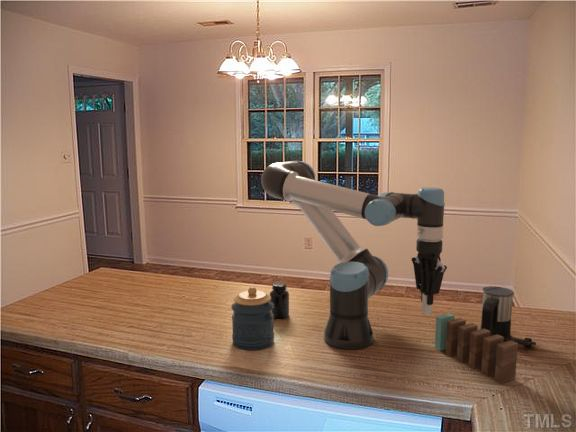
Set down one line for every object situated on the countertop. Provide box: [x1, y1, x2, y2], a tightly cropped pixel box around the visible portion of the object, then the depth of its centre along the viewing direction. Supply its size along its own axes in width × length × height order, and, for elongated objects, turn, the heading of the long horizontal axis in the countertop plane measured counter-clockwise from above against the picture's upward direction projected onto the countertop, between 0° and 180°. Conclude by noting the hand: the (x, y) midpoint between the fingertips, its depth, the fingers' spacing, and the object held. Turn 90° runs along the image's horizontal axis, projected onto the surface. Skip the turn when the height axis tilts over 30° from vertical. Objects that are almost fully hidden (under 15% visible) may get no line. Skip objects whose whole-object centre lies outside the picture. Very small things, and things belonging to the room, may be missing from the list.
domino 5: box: [481, 334, 505, 378], centre depth 126 cm, size 2×5×10 cm, turn 116°
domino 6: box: [494, 340, 519, 385], centre depth 123 cm, size 2×5×10 cm, turn 116°
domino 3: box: [456, 322, 479, 364], centre depth 134 cm, size 2×5×10 cm, turn 116°
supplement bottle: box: [269, 281, 290, 320], centre depth 167 cm, size 7×7×12 cm
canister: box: [230, 286, 275, 351], centre depth 146 cm, size 13×13×18 cm
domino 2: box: [445, 317, 467, 357], centre depth 138 cm, size 2×5×10 cm, turn 116°
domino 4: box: [468, 328, 490, 370], centre depth 130 cm, size 2×5×10 cm, turn 116°
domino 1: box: [434, 313, 455, 352], centre depth 142 cm, size 2×5×10 cm, turn 116°
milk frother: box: [479, 285, 537, 348], centre depth 146 cm, size 14×16×15 cm
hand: (426, 313), depth 148 cm, fingers closed
